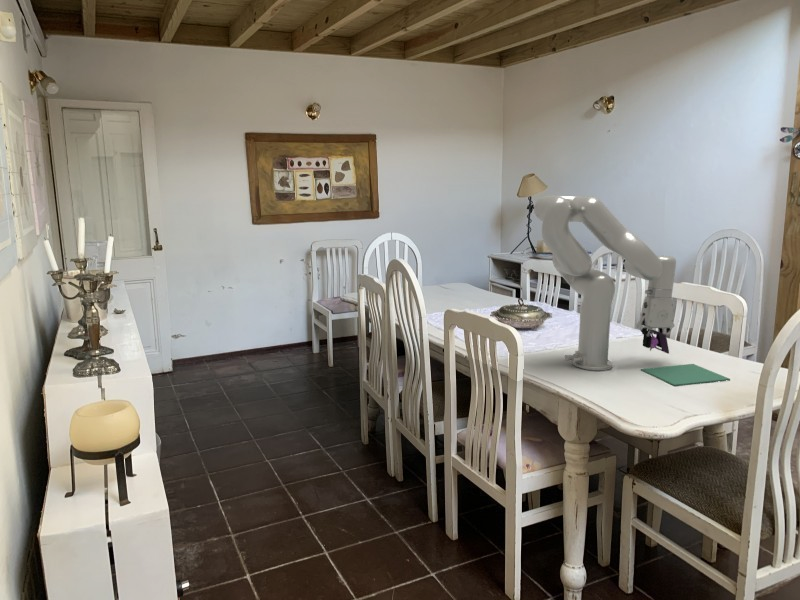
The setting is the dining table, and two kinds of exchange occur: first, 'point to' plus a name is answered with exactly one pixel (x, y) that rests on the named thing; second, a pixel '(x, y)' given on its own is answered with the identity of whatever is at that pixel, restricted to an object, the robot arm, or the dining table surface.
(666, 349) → the black open frame
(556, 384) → the dining table surface
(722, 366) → the dining table surface
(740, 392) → the dining table surface
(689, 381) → the mat
